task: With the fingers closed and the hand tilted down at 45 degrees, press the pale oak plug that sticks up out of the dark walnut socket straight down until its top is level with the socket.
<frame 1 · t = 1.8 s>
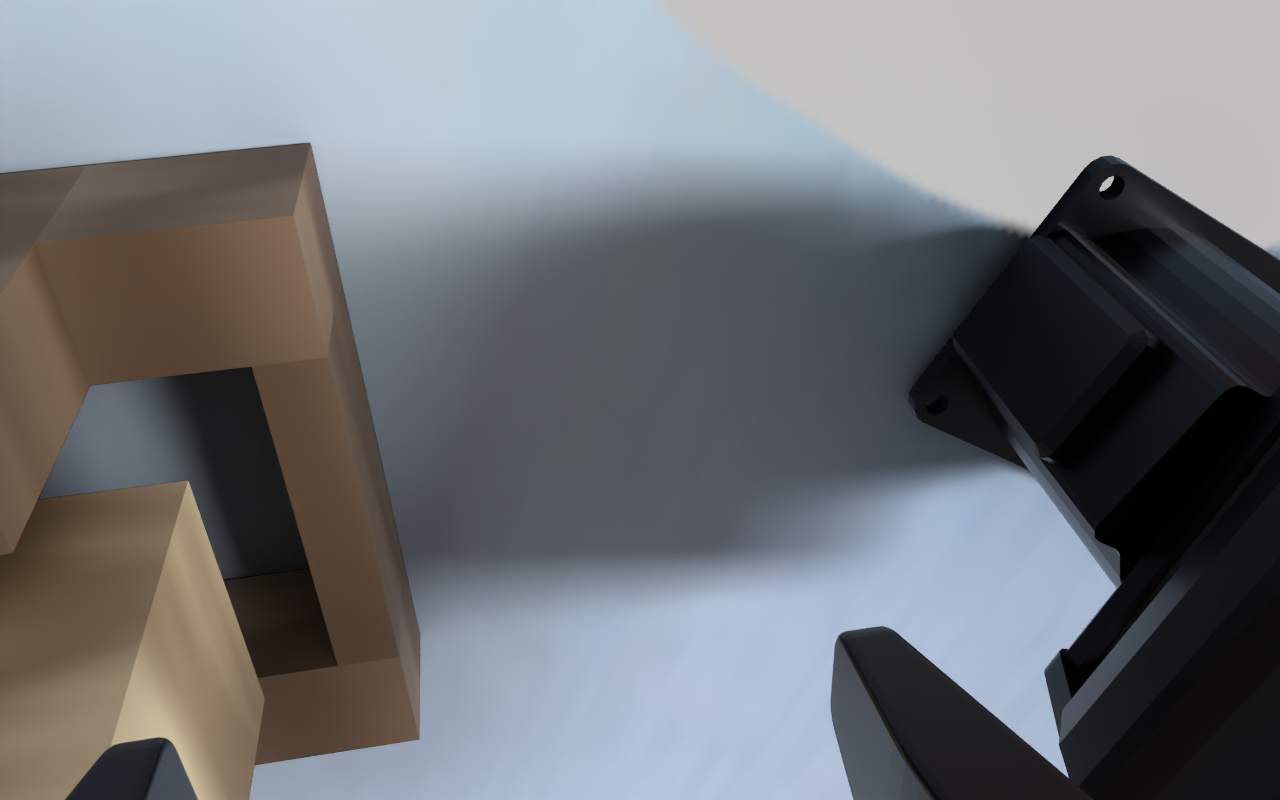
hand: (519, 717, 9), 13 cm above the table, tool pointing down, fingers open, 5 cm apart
socket: (133, 457, 22), on the table
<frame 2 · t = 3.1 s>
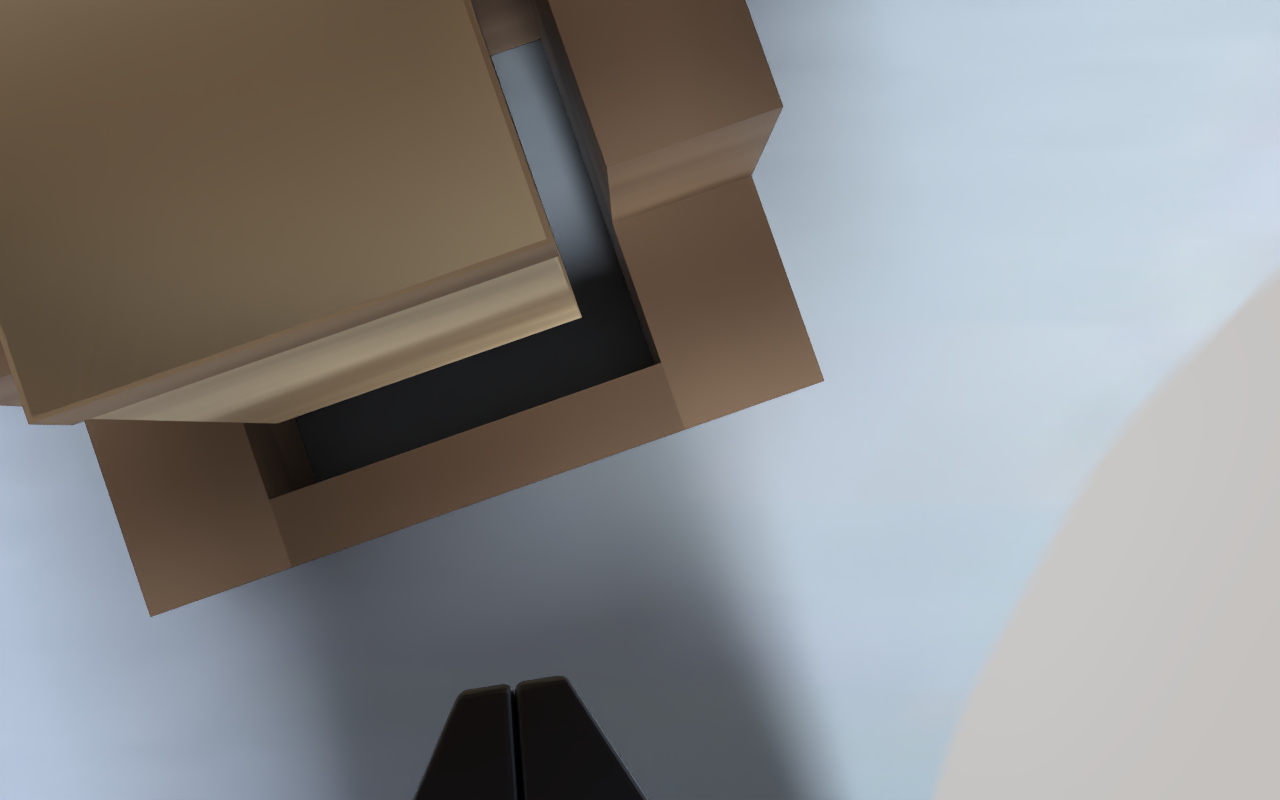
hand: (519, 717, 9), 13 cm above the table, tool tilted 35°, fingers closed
socket: (430, 263, 22), on the table
peg: (312, 165, 14), point 8 cm above the table, slide at 0.0 cm
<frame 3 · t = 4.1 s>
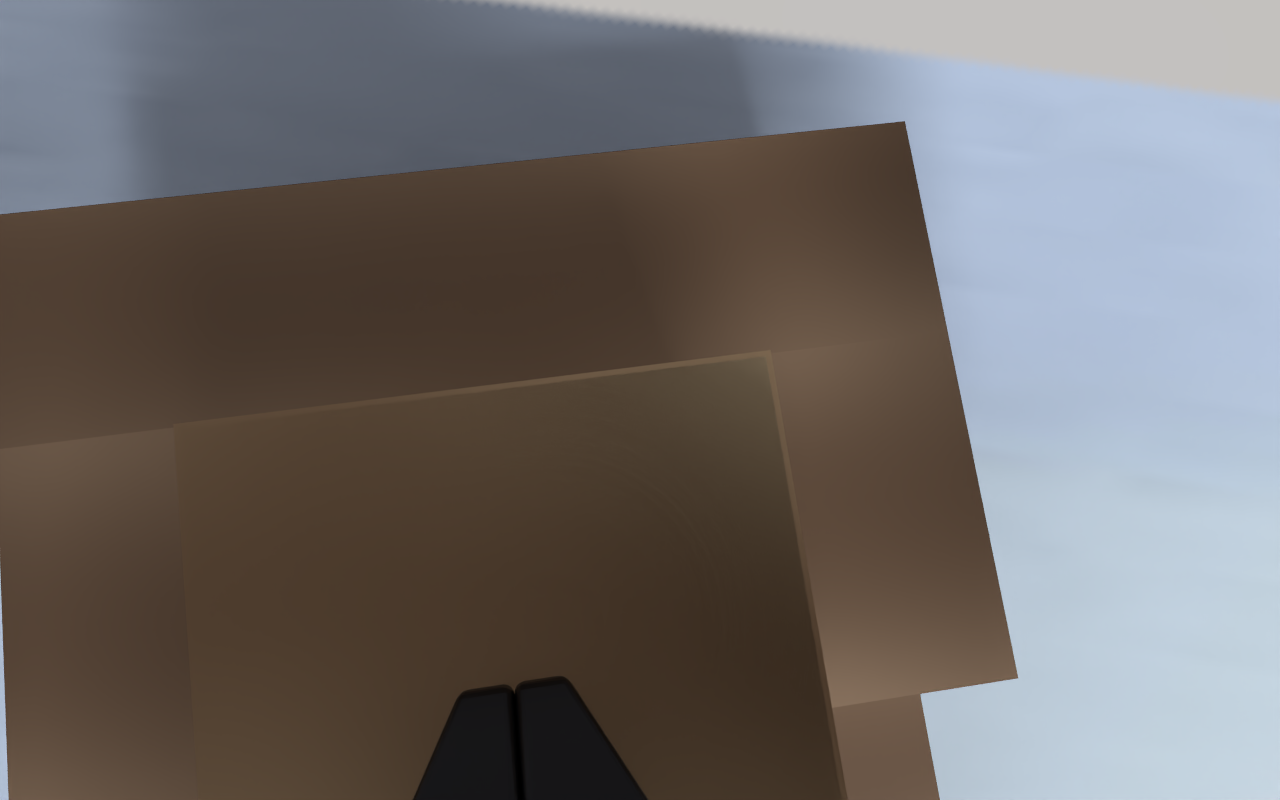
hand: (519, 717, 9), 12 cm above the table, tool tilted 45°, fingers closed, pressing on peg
socket: (535, 654, 20), on the table
peg: (526, 672, 12), point 8 cm above the table, slide at 0.1 cm, touching gripper
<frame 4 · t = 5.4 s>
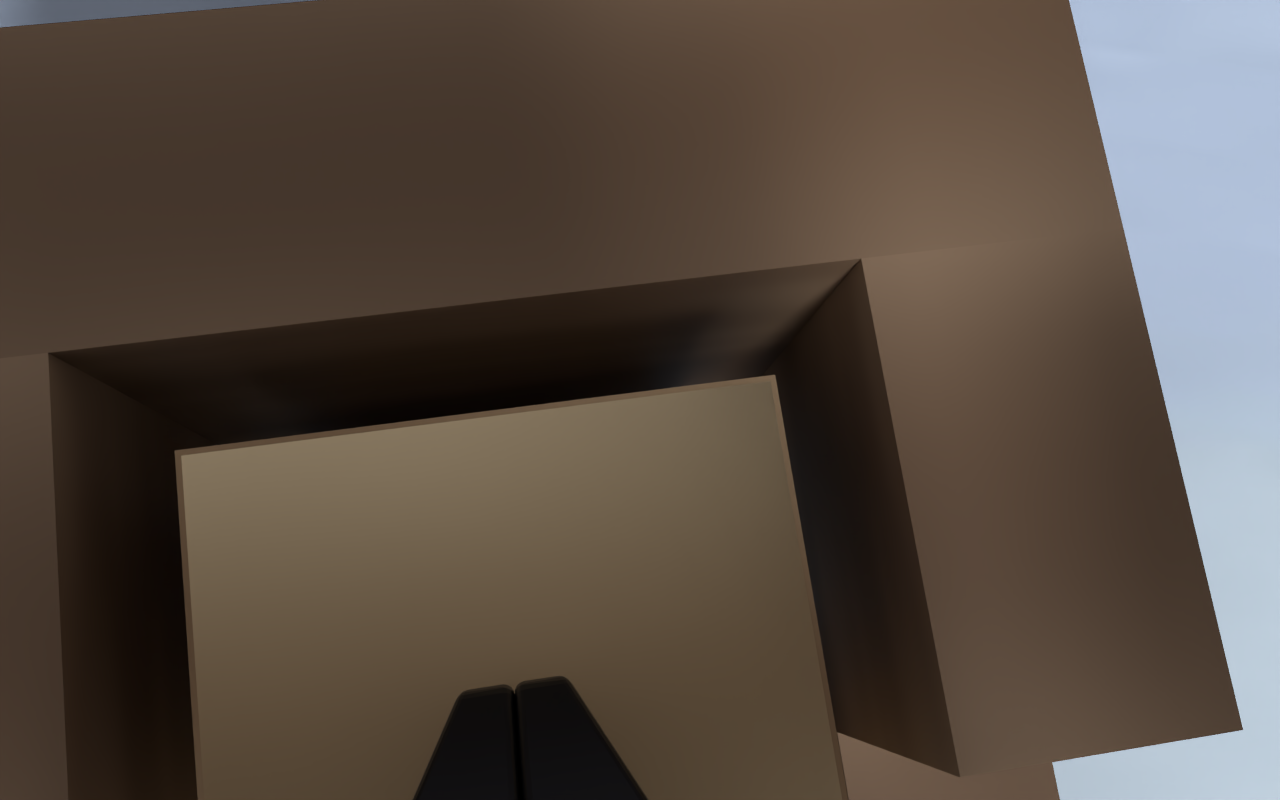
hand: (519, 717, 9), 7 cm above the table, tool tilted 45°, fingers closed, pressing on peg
socket: (533, 678, 16), on the table
peg: (528, 693, 12), point 3 cm above the table, slide at 4.5 cm, touching gripper
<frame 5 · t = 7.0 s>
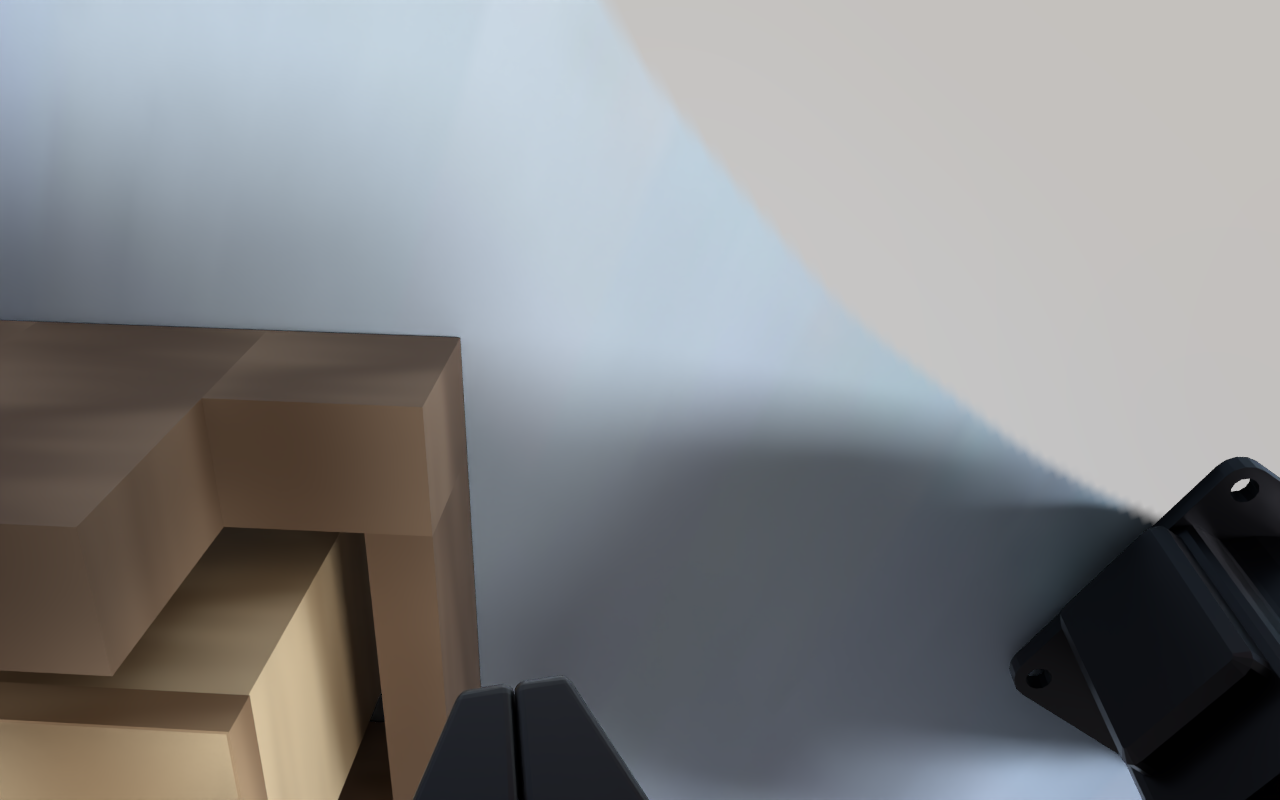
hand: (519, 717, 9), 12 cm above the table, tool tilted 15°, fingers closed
socket: (257, 589, 24), on the table
peg: (188, 698, 21), point 3 cm above the table, slide at 4.5 cm
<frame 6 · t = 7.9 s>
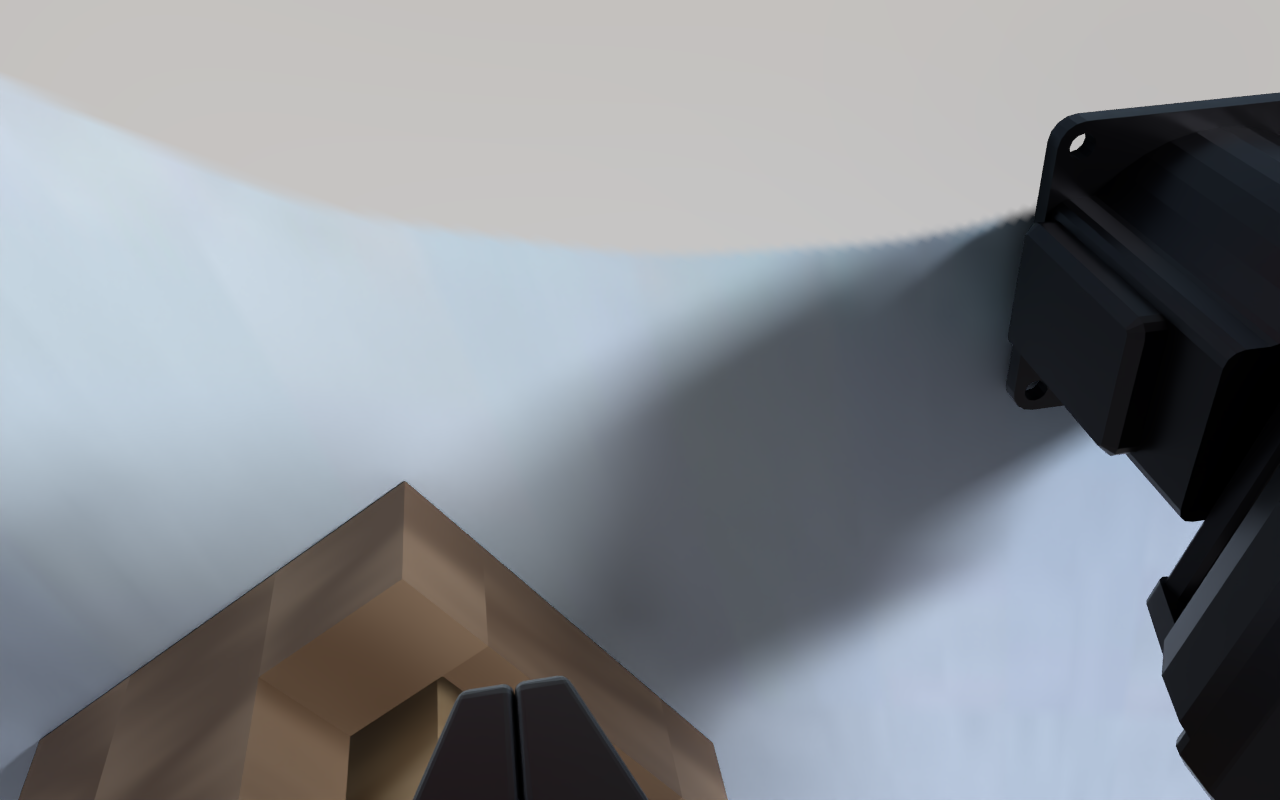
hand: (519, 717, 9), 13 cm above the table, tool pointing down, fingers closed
socket: (427, 724, 27), on the table
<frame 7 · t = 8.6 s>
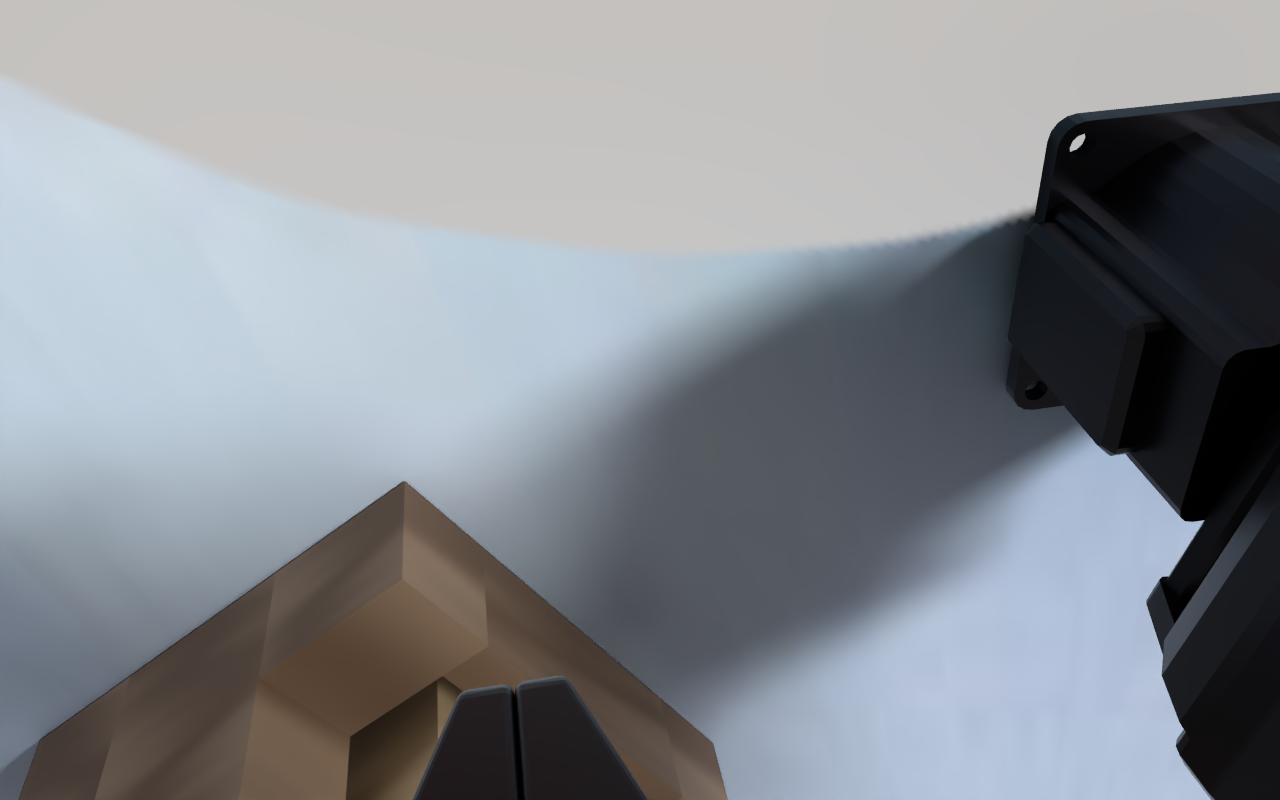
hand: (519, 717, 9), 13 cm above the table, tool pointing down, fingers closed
socket: (427, 724, 27), on the table
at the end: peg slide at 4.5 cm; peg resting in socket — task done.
